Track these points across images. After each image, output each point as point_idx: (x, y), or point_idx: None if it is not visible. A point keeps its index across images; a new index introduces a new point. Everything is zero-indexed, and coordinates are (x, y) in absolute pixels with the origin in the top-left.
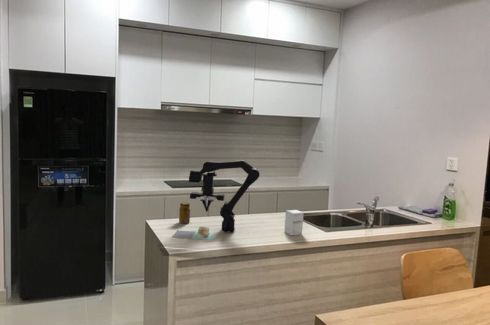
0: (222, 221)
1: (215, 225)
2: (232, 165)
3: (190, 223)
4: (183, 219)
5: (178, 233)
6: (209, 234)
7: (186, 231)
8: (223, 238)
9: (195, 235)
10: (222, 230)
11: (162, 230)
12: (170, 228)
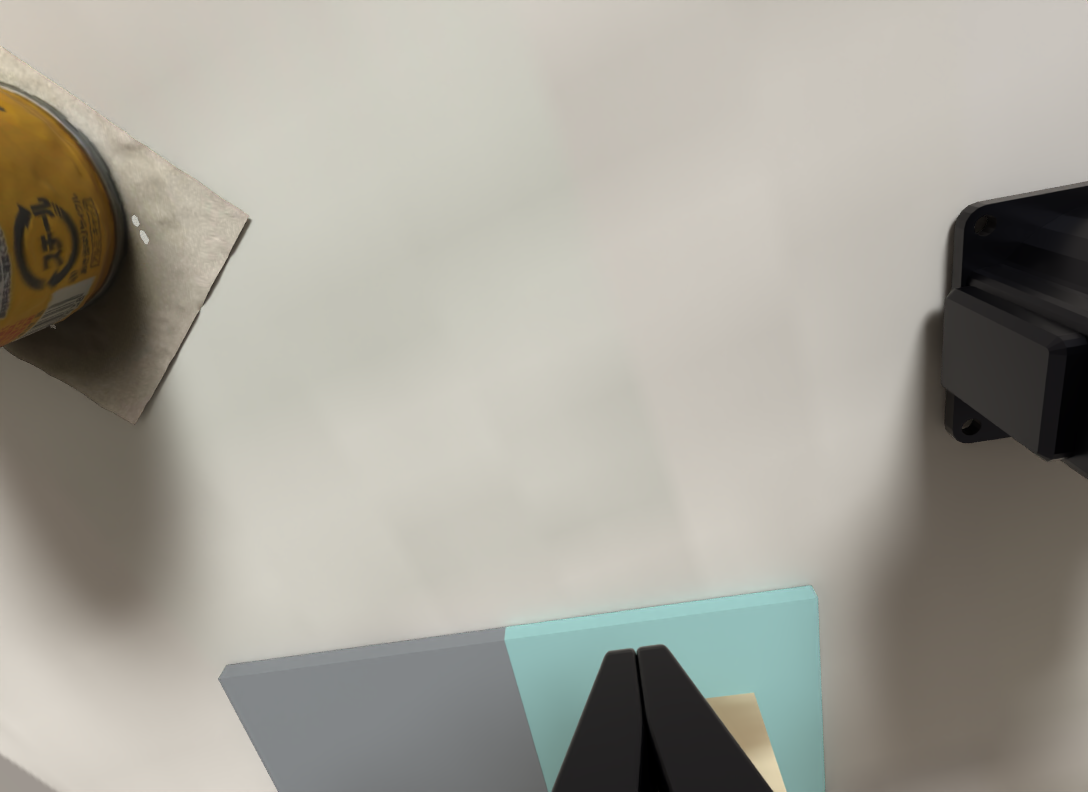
0: (1052, 365)
1: (725, 26)
2: None
3: (119, 145)
4: None
5: (320, 775)
6: (759, 680)
7: (371, 676)
8: (986, 703)
9: None
10: (959, 425)
11: (18, 690)
12: (37, 578)
